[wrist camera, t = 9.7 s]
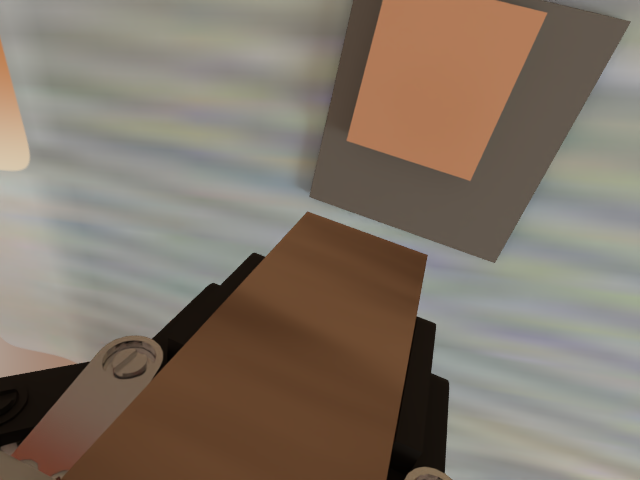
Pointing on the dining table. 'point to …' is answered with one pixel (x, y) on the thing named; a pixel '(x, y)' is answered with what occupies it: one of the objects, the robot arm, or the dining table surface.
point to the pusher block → (281, 371)
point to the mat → (500, 153)
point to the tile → (441, 79)
